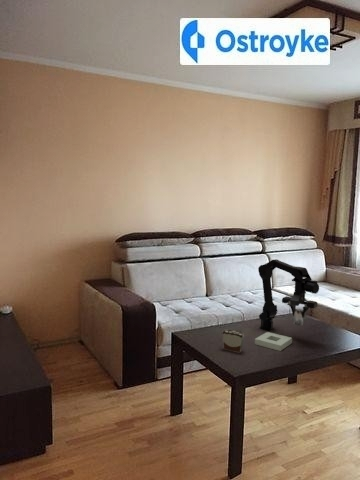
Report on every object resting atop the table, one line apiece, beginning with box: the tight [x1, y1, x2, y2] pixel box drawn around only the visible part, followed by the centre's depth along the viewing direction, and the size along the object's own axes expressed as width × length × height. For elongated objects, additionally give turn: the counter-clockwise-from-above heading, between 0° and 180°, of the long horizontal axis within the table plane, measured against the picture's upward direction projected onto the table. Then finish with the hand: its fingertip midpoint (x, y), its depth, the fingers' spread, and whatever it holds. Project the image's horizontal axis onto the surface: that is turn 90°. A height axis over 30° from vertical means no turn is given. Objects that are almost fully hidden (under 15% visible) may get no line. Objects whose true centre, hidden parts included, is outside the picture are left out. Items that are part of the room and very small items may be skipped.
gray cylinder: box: [293, 308, 304, 326], centre depth 224 cm, size 5×5×8 cm
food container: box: [221, 328, 245, 354], centre depth 209 cm, size 12×6×10 cm, turn 59°
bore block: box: [254, 331, 293, 352], centre depth 218 cm, size 15×15×3 cm
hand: (298, 316), depth 224 cm, fingers closed on gray cylinder, 5 cm apart
